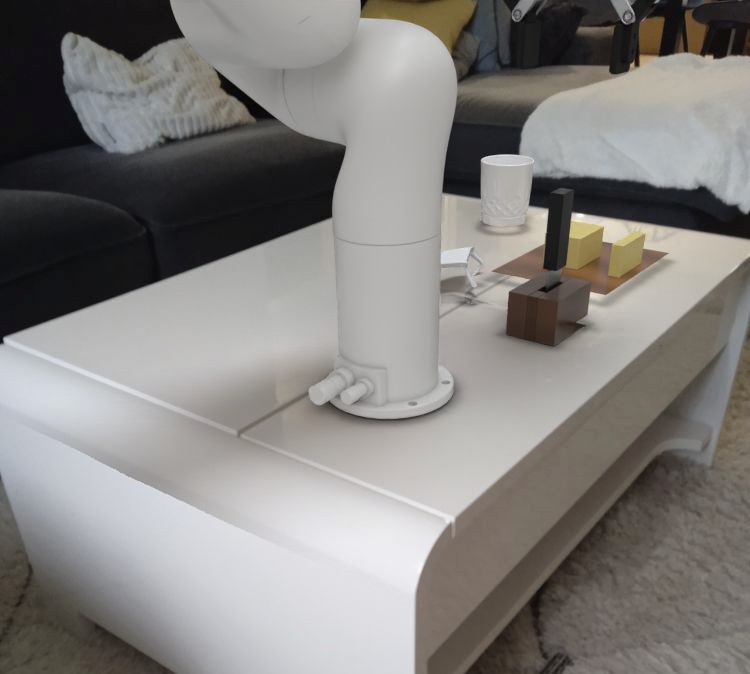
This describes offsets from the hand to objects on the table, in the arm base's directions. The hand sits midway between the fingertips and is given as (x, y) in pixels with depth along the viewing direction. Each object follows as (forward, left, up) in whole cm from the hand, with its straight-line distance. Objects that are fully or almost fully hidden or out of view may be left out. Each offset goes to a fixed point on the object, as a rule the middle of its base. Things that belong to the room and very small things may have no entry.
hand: (571, 70), depth 79 cm
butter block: (+21, +7, -25) cm, 34 cm away
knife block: (0, 0, -26) cm, 26 cm away
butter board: (+21, +6, -26) cm, 34 cm away
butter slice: (+21, 0, -25) cm, 33 cm away
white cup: (+33, +25, -26) cm, 49 cm away
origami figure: (+4, +15, -26) cm, 31 cm away
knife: (+1, 0, -26) cm, 26 cm away
